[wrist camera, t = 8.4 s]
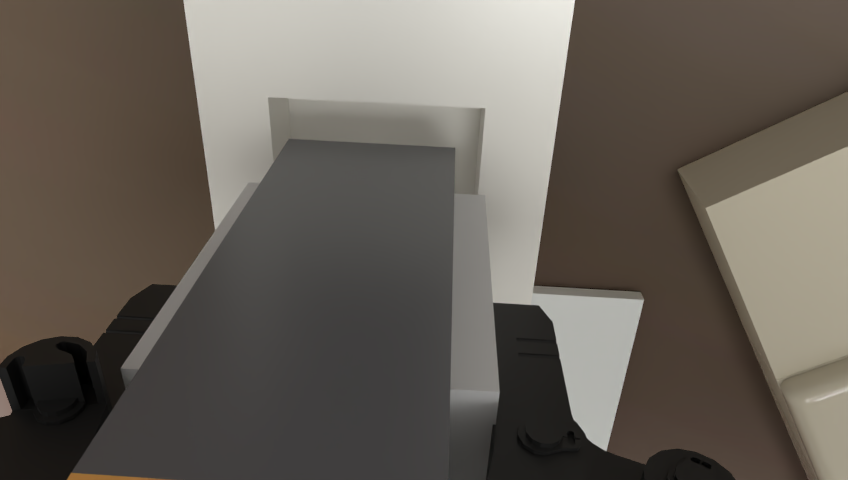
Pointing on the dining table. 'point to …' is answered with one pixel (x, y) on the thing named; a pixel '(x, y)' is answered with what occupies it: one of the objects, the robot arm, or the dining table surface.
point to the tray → (592, 349)
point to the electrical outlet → (788, 267)
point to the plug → (306, 333)
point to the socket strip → (391, 97)
